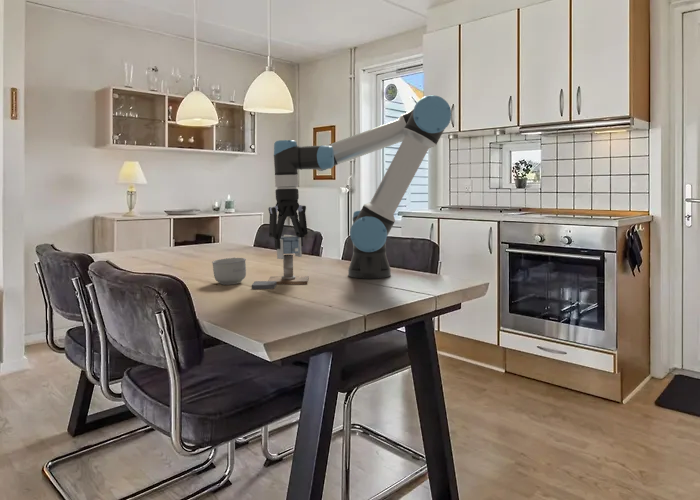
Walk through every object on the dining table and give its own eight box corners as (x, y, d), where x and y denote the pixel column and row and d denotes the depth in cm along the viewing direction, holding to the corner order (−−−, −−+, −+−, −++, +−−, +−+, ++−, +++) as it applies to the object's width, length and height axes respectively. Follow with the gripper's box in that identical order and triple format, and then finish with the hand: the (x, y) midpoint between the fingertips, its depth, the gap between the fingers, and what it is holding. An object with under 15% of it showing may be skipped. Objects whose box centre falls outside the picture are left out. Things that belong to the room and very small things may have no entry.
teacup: (238, 286, 171) (237, 262, 170) (207, 285, 173) (206, 261, 172) (254, 279, 185) (254, 256, 184) (225, 278, 187) (224, 255, 186)
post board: (308, 279, 185) (308, 253, 184) (307, 284, 175) (306, 257, 174) (270, 279, 184) (270, 253, 183) (267, 284, 175) (266, 257, 174)
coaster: (276, 284, 175) (276, 281, 175) (274, 288, 168) (274, 285, 168) (255, 284, 174) (254, 281, 174) (251, 289, 168) (251, 285, 167)
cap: (304, 252, 178) (304, 235, 177) (288, 254, 173) (287, 236, 172) (290, 250, 184) (289, 233, 183) (274, 252, 179) (273, 235, 179)
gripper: (303, 187, 185) (306, 253, 188) (255, 189, 172) (258, 259, 175) (317, 187, 180) (319, 255, 182) (267, 188, 167) (271, 261, 169)
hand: (289, 257), depth 179 cm, fingers closed on cap, 7 cm apart
